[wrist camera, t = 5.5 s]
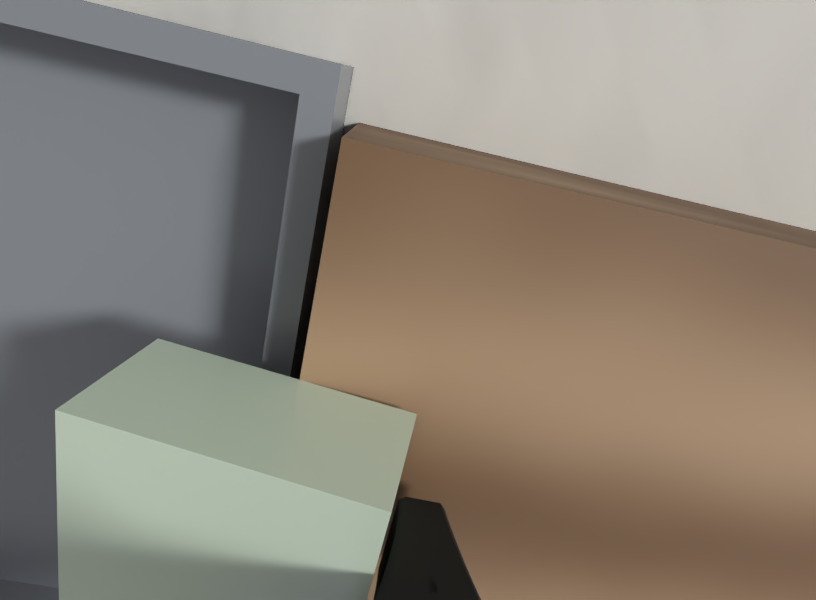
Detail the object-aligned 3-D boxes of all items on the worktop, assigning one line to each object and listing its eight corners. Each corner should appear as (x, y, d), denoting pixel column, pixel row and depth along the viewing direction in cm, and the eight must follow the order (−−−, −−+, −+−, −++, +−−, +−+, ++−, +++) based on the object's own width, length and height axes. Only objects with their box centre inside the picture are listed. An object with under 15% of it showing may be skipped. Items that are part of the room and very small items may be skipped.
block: (362, 605, 11) (328, 732, 9) (145, 536, 12) (59, 642, 9) (416, 413, 10) (391, 511, 7) (158, 338, 10) (54, 410, 8)
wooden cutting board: (704, 669, 17) (760, 783, 14) (271, 599, 16) (242, 707, 13) (969, 268, 12) (1137, 324, 9) (359, 123, 11) (341, 137, 8)
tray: (257, 620, 16) (238, 688, 15) (-157, 554, 15) (-234, 619, 14) (353, 67, 11) (342, 64, 9) (-307, -96, 10) (-478, -138, 8)
